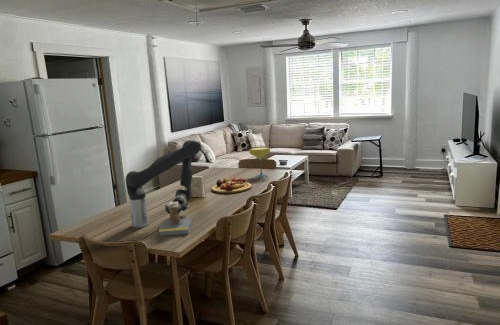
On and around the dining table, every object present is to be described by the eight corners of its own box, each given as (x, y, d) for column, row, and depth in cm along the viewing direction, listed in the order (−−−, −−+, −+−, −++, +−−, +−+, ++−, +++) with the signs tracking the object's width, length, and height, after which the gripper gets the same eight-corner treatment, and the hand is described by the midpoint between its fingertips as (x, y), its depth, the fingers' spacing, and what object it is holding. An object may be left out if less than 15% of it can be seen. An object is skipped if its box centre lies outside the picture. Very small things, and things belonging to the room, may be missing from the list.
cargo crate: (171, 223, 213) (168, 204, 211) (172, 220, 218) (170, 202, 216) (178, 222, 213) (176, 203, 211) (180, 219, 218) (178, 201, 216)
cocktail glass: (247, 177, 333) (245, 149, 328) (258, 173, 347) (256, 146, 342) (264, 179, 322) (262, 150, 318) (275, 174, 337) (273, 146, 332)
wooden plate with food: (243, 195, 280) (242, 184, 278) (204, 193, 290) (203, 183, 289) (257, 184, 309) (256, 174, 308) (221, 183, 320) (220, 174, 319)
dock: (159, 236, 209) (158, 229, 208) (165, 226, 224) (164, 220, 223) (188, 234, 209) (187, 227, 208) (192, 224, 223) (191, 218, 223)
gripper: (166, 197, 228) (159, 206, 211) (190, 196, 228) (185, 204, 211) (167, 209, 229) (161, 219, 212) (191, 207, 229) (186, 217, 212)
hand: (173, 211), depth 212 cm, fingers closed on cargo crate, 4 cm apart
